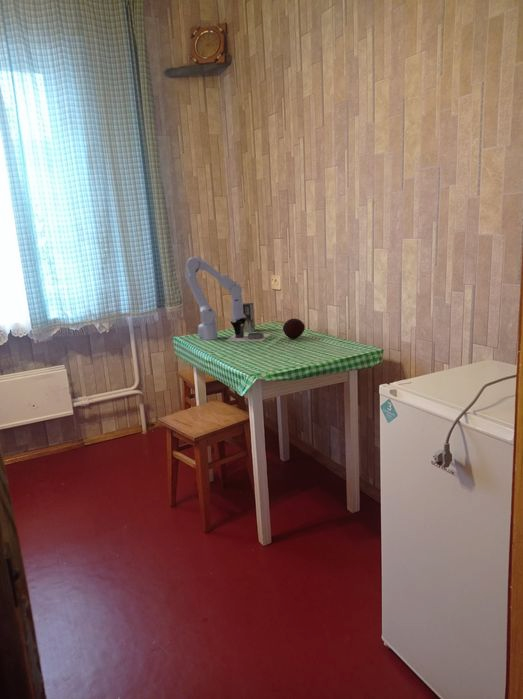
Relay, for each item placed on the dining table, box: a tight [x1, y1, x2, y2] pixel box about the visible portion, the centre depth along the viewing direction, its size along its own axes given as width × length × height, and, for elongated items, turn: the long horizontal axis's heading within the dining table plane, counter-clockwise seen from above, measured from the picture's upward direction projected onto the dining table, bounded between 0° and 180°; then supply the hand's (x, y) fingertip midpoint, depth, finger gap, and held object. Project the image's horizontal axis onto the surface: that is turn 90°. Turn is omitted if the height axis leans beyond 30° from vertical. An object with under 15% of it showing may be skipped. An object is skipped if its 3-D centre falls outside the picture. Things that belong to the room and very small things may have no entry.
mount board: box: [224, 331, 271, 342], centre depth 267 cm, size 20×16×3 cm
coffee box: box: [243, 302, 256, 333], centre depth 284 cm, size 9×6×16 cm
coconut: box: [282, 318, 306, 340], centre depth 261 cm, size 11×13×10 cm
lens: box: [234, 323, 245, 338], centre depth 269 cm, size 5×5×7 cm
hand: (239, 333), depth 269 cm, fingers closed on lens, 4 cm apart
